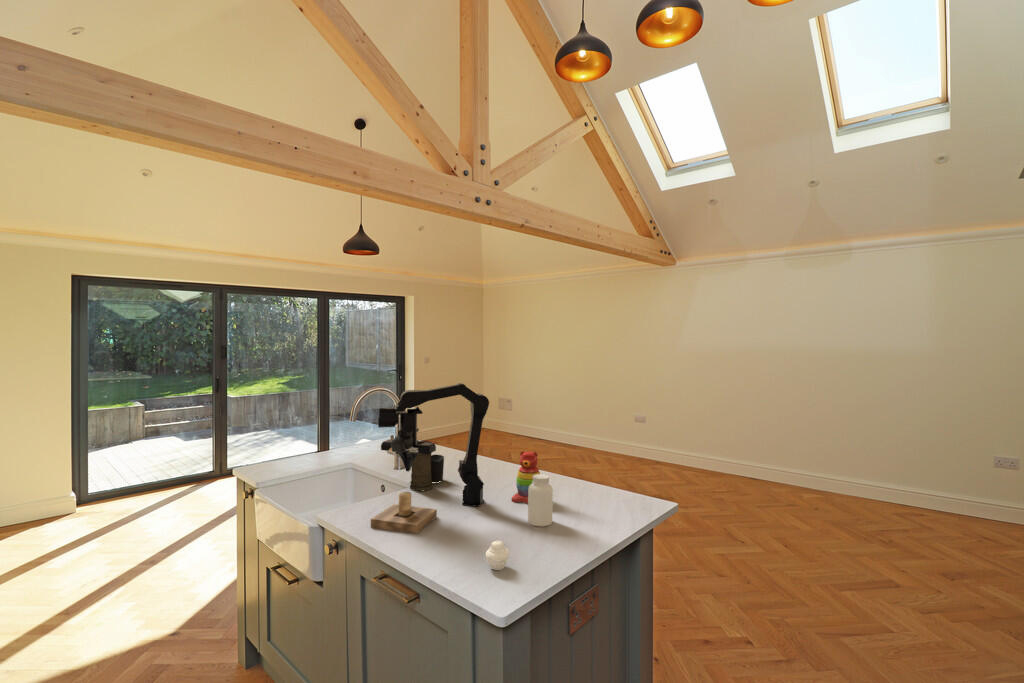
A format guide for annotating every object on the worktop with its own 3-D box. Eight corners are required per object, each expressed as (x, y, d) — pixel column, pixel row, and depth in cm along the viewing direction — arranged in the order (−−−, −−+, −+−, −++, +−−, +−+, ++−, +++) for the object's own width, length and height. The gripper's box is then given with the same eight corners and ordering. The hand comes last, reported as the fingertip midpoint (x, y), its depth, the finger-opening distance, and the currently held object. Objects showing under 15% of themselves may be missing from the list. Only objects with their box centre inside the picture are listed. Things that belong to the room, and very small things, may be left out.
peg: (413, 520, 150) (413, 492, 151) (407, 524, 147) (407, 496, 147) (402, 518, 152) (402, 491, 152) (395, 523, 148) (396, 495, 148)
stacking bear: (509, 501, 169) (510, 453, 169) (519, 493, 178) (520, 447, 178) (537, 506, 165) (538, 456, 165) (546, 497, 174) (546, 450, 174)
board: (436, 516, 154) (436, 509, 154) (416, 533, 140) (416, 525, 140) (393, 511, 158) (394, 504, 158) (370, 526, 145) (370, 518, 145)
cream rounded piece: (493, 576, 115) (494, 548, 115) (480, 566, 120) (481, 539, 120) (513, 569, 119) (514, 542, 119) (500, 560, 124) (500, 534, 124)
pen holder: (441, 484, 189) (442, 460, 189) (418, 484, 189) (419, 459, 189) (445, 477, 198) (445, 454, 198) (423, 477, 198) (423, 454, 198)
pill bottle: (554, 519, 152) (555, 474, 152) (548, 528, 145) (549, 481, 145) (531, 516, 155) (532, 471, 155) (524, 525, 147) (525, 478, 147)
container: (427, 492, 178) (428, 445, 179) (406, 490, 180) (406, 444, 180) (436, 485, 187) (436, 441, 187) (415, 483, 189) (415, 439, 189)
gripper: (372, 428, 156) (371, 475, 156) (422, 432, 151) (421, 480, 151) (389, 423, 167) (389, 466, 167) (436, 426, 161) (436, 471, 161)
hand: (407, 471), depth 161 cm, fingers closed
